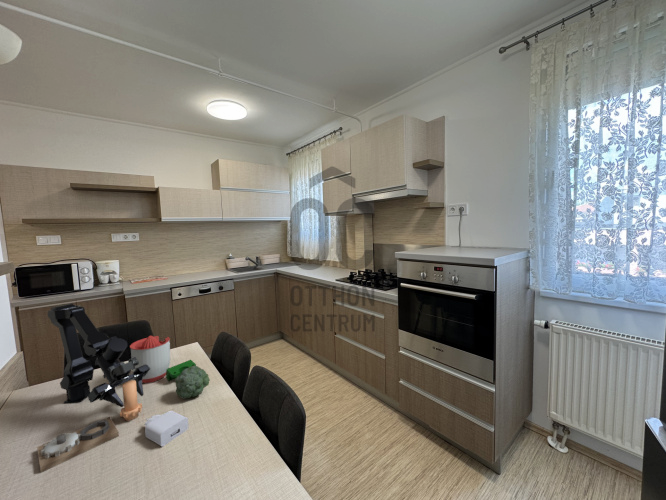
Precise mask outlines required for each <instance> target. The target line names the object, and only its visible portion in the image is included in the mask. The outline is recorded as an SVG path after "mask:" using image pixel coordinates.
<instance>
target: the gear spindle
mask: <svg viewBox="0 0 666 500" xmlns="http://www.w3.org/2000/svg"><path fill="white" fill-rule="evenodd" d="M121 385H122V397H123V404H124V406H123V407H121V409H120V412H119V417H120V418H122V417H123V418H124V420H125V421H127V422H129V421H133V420H135V419H136V418H138V417H139V413H141V412H142V409H143V403H139V402H138V392H137V389H136V381H135V380H132V379H131V380H129V381H127V382H125V383H123V384H121Z"/></svg>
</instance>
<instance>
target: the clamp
mask: <svg viewBox="0 0 666 500" xmlns="http://www.w3.org/2000/svg"><path fill="white" fill-rule="evenodd" d="M191 366H197V363H196V362H194V360H192V359H189V360H186V361H183V362H181V363H178V364H176V365H173V366H171V367H169V368H168V369H166V376H165V379H166V380H167V381H168V382H171V381H174V380H175V379H176V377H178V376H179V375H180V374H181V372H182V371H183V370H185V369H187V368H189V367H191Z"/></svg>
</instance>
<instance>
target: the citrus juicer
mask: <svg viewBox="0 0 666 500" xmlns="http://www.w3.org/2000/svg"><path fill="white" fill-rule="evenodd" d="M170 340H171V338H170V337H169V336H167V337H165V339H164V341H162V340H160V337H159V335H156V336H155V335H154V336H153V335H149V336H148V337H146V338H142V339H139V340H136V341H134V342H132V343H131V344H130V345H129V349H130V353H131V355H130V357H131V358H134V357H136V358H137V360H138V362H139V364H138V365H136V366H135V369H133V370H132V373H133V372H134V371H135V370H136V368H138V367H140V366H143V365H145V364H146V365H148V366H149V367H150V370H149V371H148V373H147V374H146V375H145V376H144V377H143V378H142V384H148V383H155V382H158V381H159V380H161V379H163V378H164V377H165V378H166V369H168V368H170V364H171V343H170ZM131 358H130V359H131Z"/></svg>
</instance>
